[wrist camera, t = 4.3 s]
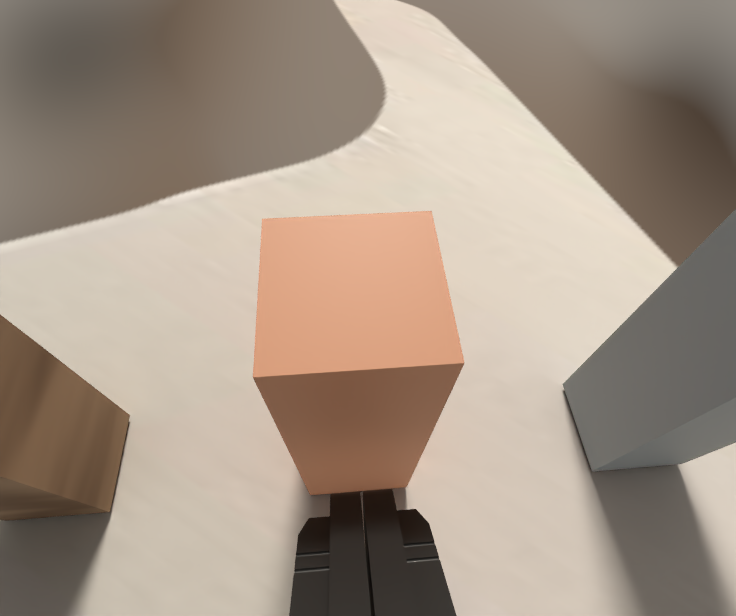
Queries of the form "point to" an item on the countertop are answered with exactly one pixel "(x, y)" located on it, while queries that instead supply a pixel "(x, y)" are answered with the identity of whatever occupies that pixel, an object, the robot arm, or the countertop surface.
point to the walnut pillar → (53, 435)
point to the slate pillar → (666, 369)
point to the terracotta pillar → (354, 344)
